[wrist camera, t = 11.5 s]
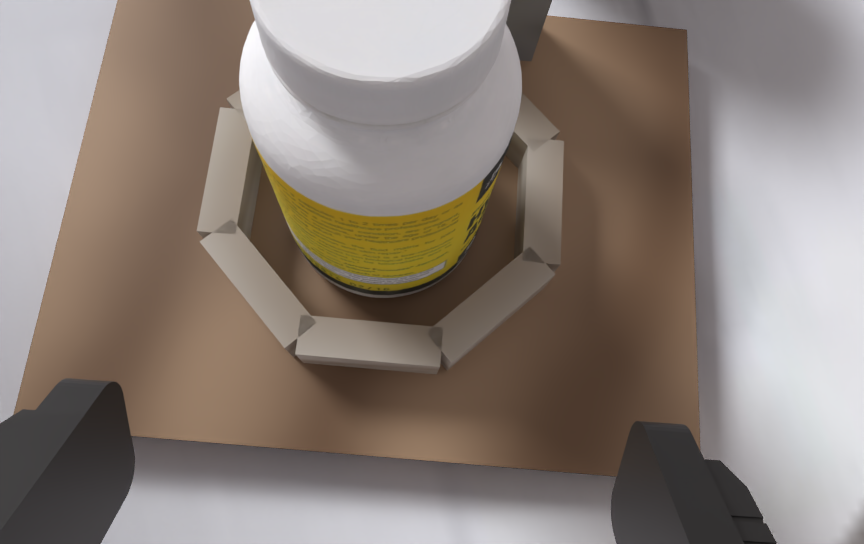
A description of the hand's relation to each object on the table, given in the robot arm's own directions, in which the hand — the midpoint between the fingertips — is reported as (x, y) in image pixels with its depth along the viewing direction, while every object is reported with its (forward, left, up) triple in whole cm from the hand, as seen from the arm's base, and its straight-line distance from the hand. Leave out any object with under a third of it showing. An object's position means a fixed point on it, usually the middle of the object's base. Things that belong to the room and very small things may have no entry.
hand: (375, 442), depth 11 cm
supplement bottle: (-1, +7, -7) cm, 10 cm away
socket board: (-1, +7, -8) cm, 11 cm away
